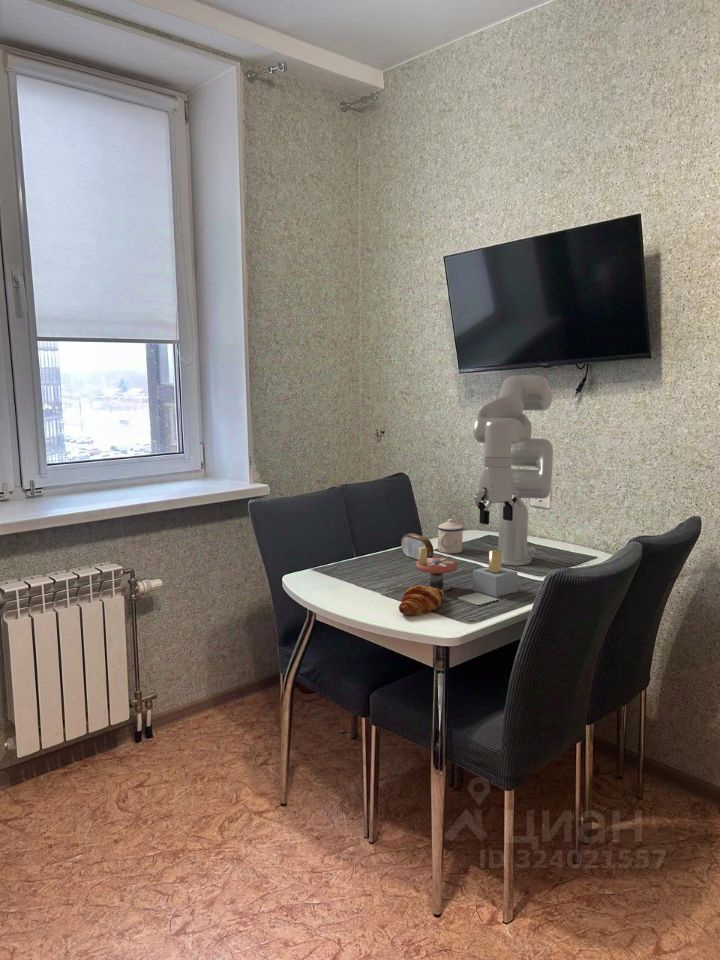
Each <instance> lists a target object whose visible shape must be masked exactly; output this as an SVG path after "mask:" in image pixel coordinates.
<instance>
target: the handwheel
mask: <svg viewBox="0 0 720 960" xmlns="http://www.w3.org/2000/svg"><path fill="white" fill-rule="evenodd" d="M415 565H416V566H415V567H416V569H417V570H418V571H420V572H423V573H429V574H430V573H443V574H447V573H448V574H449V573H454V572H456V571H457V570H458V562H457V561H455V560H453V559H450V558H444V557H441V558H440V557H432V558H427V548H426V547H419V560H416V564H415Z"/></svg>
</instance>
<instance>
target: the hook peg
mask: <svg viewBox="0 0 720 960" xmlns="http://www.w3.org/2000/svg"><path fill="white" fill-rule="evenodd" d="M502 565H503V564H502V551H501V550H498V549H489V551H488V567H489V572H490V573H493V574H499V573H501V567H502Z"/></svg>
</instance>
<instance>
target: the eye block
mask: <svg viewBox="0 0 720 960" xmlns="http://www.w3.org/2000/svg"><path fill="white" fill-rule="evenodd" d="M517 589H518V571H516V570H511V569H508V568H504V567H502V566H501V573H499V574H493V573H490V572H489V566H486V567H481V568H477V569H473V570H472V591H474V592H477V591H478V592H477V593H480V592H481V594H483V593H484V595H486V594H488V595H487V596H489V595H491V596H490V597H492V596H494V597H493V598H497V597H496V596H499V597H501V596H500V595H503V596H505V595H504V594H507V595H509V593H511V594H514V593H517V592H518V590H517ZM513 592H514V593H513Z"/></svg>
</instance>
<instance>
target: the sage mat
mask: <svg viewBox="0 0 720 960" xmlns="http://www.w3.org/2000/svg"><path fill="white" fill-rule="evenodd" d="M457 599H458V600H459V601H463V602H465V603H468V604H471V603H472V605H473V604H475V605H474V606H476V605H480V606H483V605H482V604H484V605H486V604H485V603H488V604H490V603H489V602H491V603H493V602H492V601H495V602H497V601H496V600H498V601H499V599H498V598H497V597H492V596H489V595H486V594H483V593H480V592H474V593H471V594H466V595H462V596H459V597H457Z"/></svg>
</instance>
